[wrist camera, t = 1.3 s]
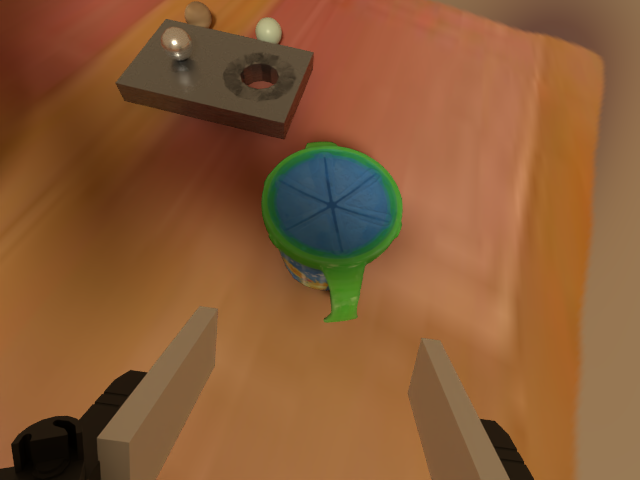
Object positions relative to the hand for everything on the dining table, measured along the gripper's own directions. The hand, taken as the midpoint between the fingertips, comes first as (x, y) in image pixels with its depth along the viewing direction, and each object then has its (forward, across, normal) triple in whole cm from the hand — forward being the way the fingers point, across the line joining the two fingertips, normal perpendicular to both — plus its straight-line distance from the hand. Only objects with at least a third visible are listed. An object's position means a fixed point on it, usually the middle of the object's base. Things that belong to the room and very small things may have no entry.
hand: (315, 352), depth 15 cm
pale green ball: (+41, -11, +20) cm, 47 cm away
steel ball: (+34, -20, +16) cm, 42 cm away
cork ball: (+42, -21, +21) cm, 52 cm away
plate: (+36, -15, +13) cm, 41 cm away
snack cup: (+21, 0, -3) cm, 21 cm away
